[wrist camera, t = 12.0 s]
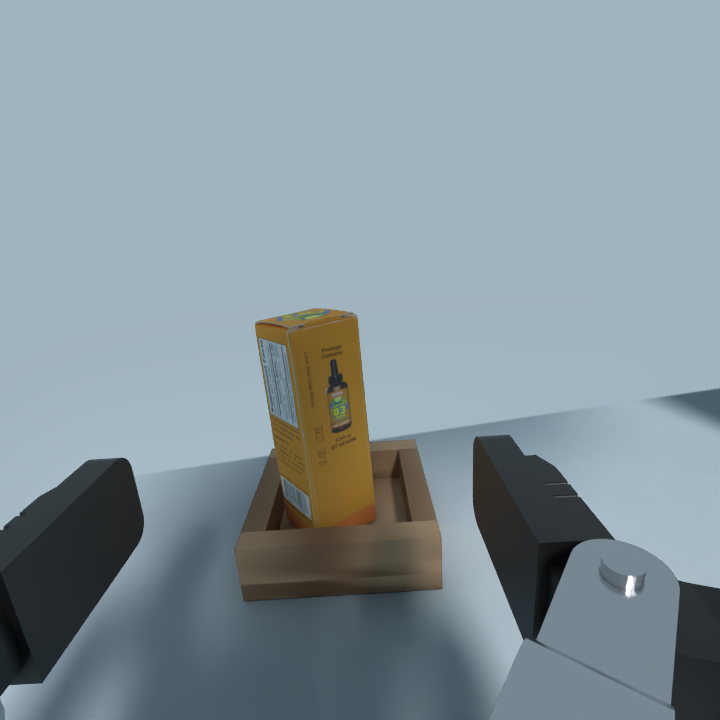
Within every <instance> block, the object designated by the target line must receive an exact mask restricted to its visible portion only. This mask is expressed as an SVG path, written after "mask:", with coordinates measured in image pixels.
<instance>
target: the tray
mask: <svg viewBox="0 0 720 720" xmlns="http://www.w3.org/2000/svg"><path fill="white" fill-rule="evenodd" d="M369 444H370V455H371V465H372V475H373V485H374V496H375V507H376V519H375V520H374V522H372V523H370V524H368V525H352V526H336V527H321V528H305V529H296V528H295V527H294V526H293V525H292V524H291V523H290V522H289V521H288V519H287V514H286V509H285V502H284V496H283V491H282V485H281V479H280V474H279V468H278V463H277V457H276V451H275V449H272V450H271V453H270V455H269V458H268V461H267V464H266V466H265V469H264V472H263V474H262V477H261V480H260V482H259V485H258V488H257V490H256V493H255V496H254V498H253V501H252V504H251V507H250V509H249V512H248V515H247V517H246V520H245V523H244V525H243V528H242V531H241V533H240V536H239V539H238V541H237V544H236V547H235V550H234V551H235V556H236V562H237V567H238V572H239V578H240V583H241V589H242V594H243V600H244V601H254V600H270V599H286V598H302V597H318V596H334V595H351V594H367V593H383V592H399V591H415V590H431V589H442V545H441V534H440V530H439V526H438V523H437V519H436V515H435V512H434V508H433V504H432V501H431V497H430V494H429V490H428V486H427V483H426V479H425V475H424V472H423V468H422V464H421V461H420V457H419V453H418V450H417V446H416V443H415V439H414V440H398V441H383V442H369Z"/></svg>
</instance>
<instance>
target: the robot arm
mask: <svg viewBox="0 0 720 720" xmlns="http://www.w3.org/2000/svg"><path fill="white" fill-rule="evenodd" d="M473 506H474V513H475V518H476V522H477V525H478V528H479V530H480V533H481V535H482V538H483V540H484V543H485V545H486V548H487V550H488V553H489V555H490V558H491V560H492V563H493V565H494V568H495V570H496V573H497V575H498V578H499V580H500V583H501V585H502V588H503V590H504V593H505V595H506V598H507V600H508V603H509V605H510V608H511V610H512V613H513V615H514V618H515V620H516V623H517V625H518V628H519V630H520V633H521V635H522V638H523V640H524V641H523V643H522V645H521V646H520V649H519V651H518V653H517V655H516V658H515V660H514V662H513V665H512V667H511V669H510V672H509V674H508V676H507V679H506V681H505V683H504V686H503V688H502V690H501V693H500V695H499V697H498V700H497V702H496V704H495V707H494V709H493V711H492V714H491V716H490V718H489V720H720V589H719V588H714V587H708V586H702V585H697V584H691V583H687V582H682V581H679V580H677V578H676V577H675V575H674V573H673V572H672V571H671V570H670V568H669V567H668V566H667V565H666V564H664V563H663V562H662V561H661V560H660V559H658V558H657V557H656V556H654V555H652V554H651V553H649V552H647V551H646V550H643V549H641V548H639V547H637V546H634V545H632V544H629V543H625V542H622V541H617V540H615V539H614V538H613V537H612V535H611V534H610V533H609V532H608V530H607V529H606V528H605V527H604V526H603V524H602V523H601V522H600V521H599V519H598V518H597V517H596V516H595V515H594V513H593V512H592V511H591V510H590V508H589V507H588V506H587V505H586V504H585V502H584V501H583V500H582V499H581V497H578V494H577V493H576V491H575V490H574V489H573V488H572V486H571V485H570V484H569V485H568V483H567V480H566V479H565V478H564V477H563V476H562V474H561V473H560V472H559V471H558V469H557V468H556V467H555V466H553V465H551V464H550V463H548V462H547V461H545V460H543V459H542V458H540V457H538V456H537V455H530V456H525V455H524V454H523V453H522V451H521V450H520V449H519V447H518V446H517V444H516V443H515V442H514V440H513V439H512V438H511V436H509V435H499V436H482V437H475V439H474V445H473ZM143 528H144V516H143V512H142V508H141V503H140V499H139V495H138V491H137V487H136V483H135V479H134V475H133V471H132V467H131V465H130V463H129V461H128V460H127V459H125V458H112V459H96V460H88V461H86V462H85V463H84V464H83V465H82V466H80V467H79V468H78V469H77V470H76V471H75V472H74V473H72V474H71V475H70V476H69V477H68V478H67V479H65V480H64V481H63V482H62V483H61V484H60V485H58V486H57V487H56V488H54V489H52V490H50V491H49V492H47V493H45V494H43V495H41V496H40V497H38V498H37V499H36V500H35V501H33V502H32V503H31V504H30V505H29V506H28V507H26V508H25V509H24V510H23V511H22V512H21V513H20V516H16V517H14V518H13V519H12V520H11V521H10V522H9V523H7V524H6V525H5V526H4V529H3V530H0V696H1V695H2V693H3V692H4V691H5V690H6V688H7V687H8V686H9V685H19V684H37V683H43V681H44V680H45V678H46V677H47V676H48V674H49V673H50V671H51V670H52V668H53V667H54V665H55V664H56V662H57V661H58V660H59V658H60V657H61V655H62V654H63V652H64V651H65V649H66V648H67V647H68V645H69V644H70V642H71V641H72V639H73V638H74V636H75V635H76V634H77V632H78V631H79V629H80V628H81V626H82V625H83V623H84V622H85V620H86V619H87V618H88V616H89V615H90V613H91V612H92V610H93V609H94V607H95V606H96V605H97V603H98V602H99V600H100V599H101V597H102V596H103V594H104V593H105V592H106V590H107V589H108V587H109V586H110V584H111V583H112V581H113V580H114V579H115V577H116V576H117V574H118V573H119V571H120V570H121V568H122V567H123V565H124V564H125V563H126V561H127V560H128V558H129V557H130V555H131V554H132V552H133V551H134V550H135V548H136V547H137V545H138V544H139V542H140V539H141V537H142V533H143ZM0 720H5V710H4V706H3V704H2V702H1V699H0Z"/></svg>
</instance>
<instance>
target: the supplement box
mask: <svg viewBox="0 0 720 720" xmlns="http://www.w3.org/2000/svg"><path fill="white" fill-rule="evenodd" d="M255 328H256V336H257V342H258V349H259V355H260V361H261V366H262V371H263V378H264V384H265V389H266V396H267V402H268V409H269V414H270V420H271V426H272V433H273V440H274V445H275V451H276V457H277V463H278V468H279V474H280V479H281V485H282V491H283V496H284V502H285V509H286V514H287V519H288V521H289V522H290V523H291V524H292V525H293V526H294V527H295V528H296V529H305V528H321V527H336V526H352V525H368V524H370V523H372V522H374V520H375V519H376V507H375V496H374V485H373V475H372V465H371V455H370V444H369V434H368V425H367V414H366V404H365V393H364V383H363V373H362V362H361V352H360V342H359V330H358V318H357V315H356V314H354V313H352V312H345V311H338V310H331V309H310V310H306V311H302V312H297V313H293V314H288V315H283V316H279V317H274V318H270V319H265V320H260V321H257V322H256V323H255Z"/></svg>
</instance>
